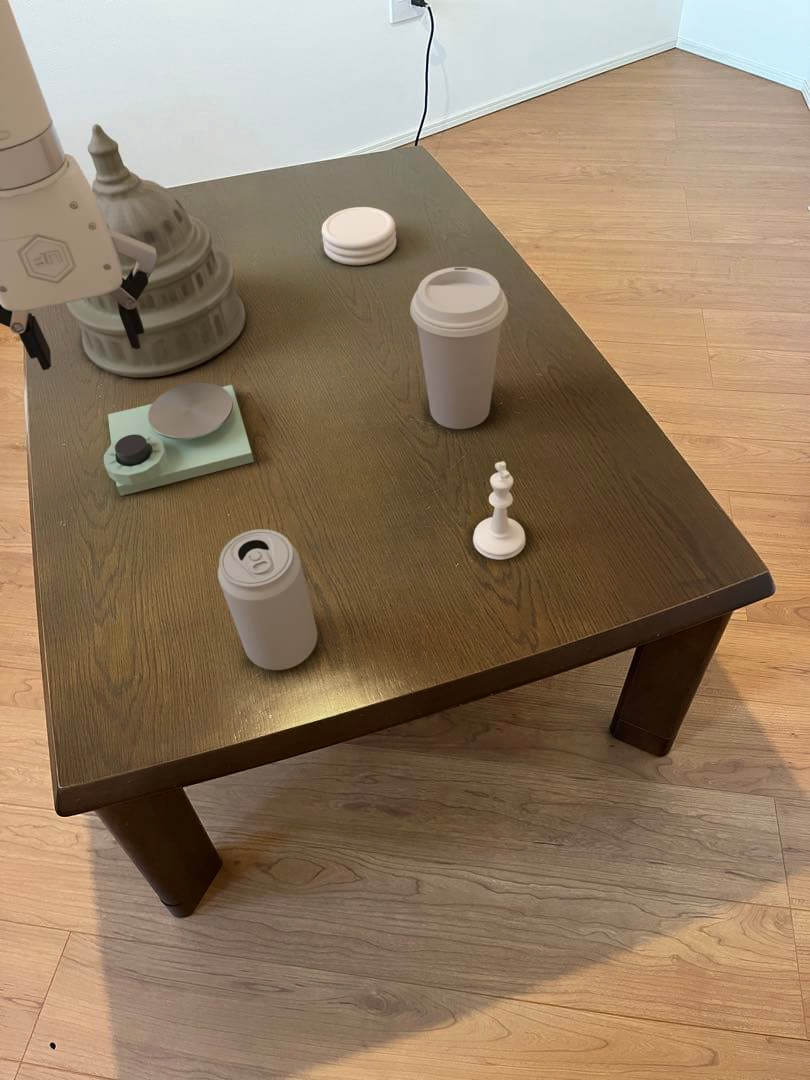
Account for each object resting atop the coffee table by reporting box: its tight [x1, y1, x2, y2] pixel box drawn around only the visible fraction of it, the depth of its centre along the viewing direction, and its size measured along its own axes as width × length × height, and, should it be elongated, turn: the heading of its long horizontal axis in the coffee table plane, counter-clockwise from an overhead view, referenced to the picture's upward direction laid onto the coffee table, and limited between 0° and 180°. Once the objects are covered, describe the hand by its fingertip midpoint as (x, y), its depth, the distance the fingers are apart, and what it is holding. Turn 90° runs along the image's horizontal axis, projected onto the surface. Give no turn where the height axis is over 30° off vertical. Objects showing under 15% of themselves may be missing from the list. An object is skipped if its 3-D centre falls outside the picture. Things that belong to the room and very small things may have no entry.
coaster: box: [321, 206, 397, 266], centre depth 113 cm, size 10×10×4 cm
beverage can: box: [217, 528, 318, 671], centre depth 68 cm, size 6×6×12 cm
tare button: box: [115, 434, 150, 466], centre depth 85 cm, size 3×3×2 cm
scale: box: [103, 384, 255, 497], centre depth 89 cm, size 14×12×3 cm
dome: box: [65, 123, 246, 378], centre depth 95 cm, size 20×25×20 cm
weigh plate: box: [148, 381, 233, 439], centre depth 89 cm, size 9×9×1 cm
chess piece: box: [472, 460, 526, 561], centre depth 75 cm, size 5×5×10 cm
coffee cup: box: [409, 266, 509, 430], centre depth 85 cm, size 10×10×15 cm
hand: (91, 349), depth 75 cm, fingers open, 7 cm apart
